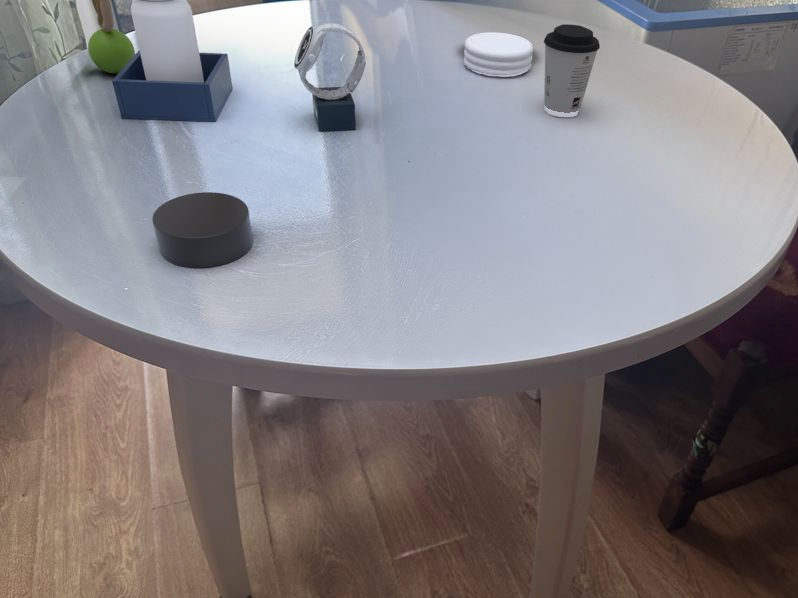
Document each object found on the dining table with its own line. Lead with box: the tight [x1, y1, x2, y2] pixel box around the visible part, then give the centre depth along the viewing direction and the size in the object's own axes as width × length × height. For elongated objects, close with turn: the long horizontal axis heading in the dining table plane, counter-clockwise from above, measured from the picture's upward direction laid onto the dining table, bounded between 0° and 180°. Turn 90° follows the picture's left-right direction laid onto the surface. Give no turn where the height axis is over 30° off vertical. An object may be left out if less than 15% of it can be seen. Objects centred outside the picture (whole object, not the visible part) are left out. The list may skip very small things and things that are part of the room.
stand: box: [151, 191, 254, 269], centre depth 63 cm, size 8×8×3 cm
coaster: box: [463, 31, 534, 75], centre depth 104 cm, size 10×10×4 cm
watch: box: [293, 21, 367, 133], centre depth 83 cm, size 6×8×11 cm
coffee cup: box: [543, 23, 601, 113], centre depth 90 cm, size 7×7×10 cm
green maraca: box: [87, 0, 136, 75], centre depth 90 cm, size 5×6×12 cm
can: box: [130, 0, 204, 83], centre depth 83 cm, size 6×6×12 cm
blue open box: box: [111, 49, 233, 123], centre depth 86 cm, size 11×11×4 cm
